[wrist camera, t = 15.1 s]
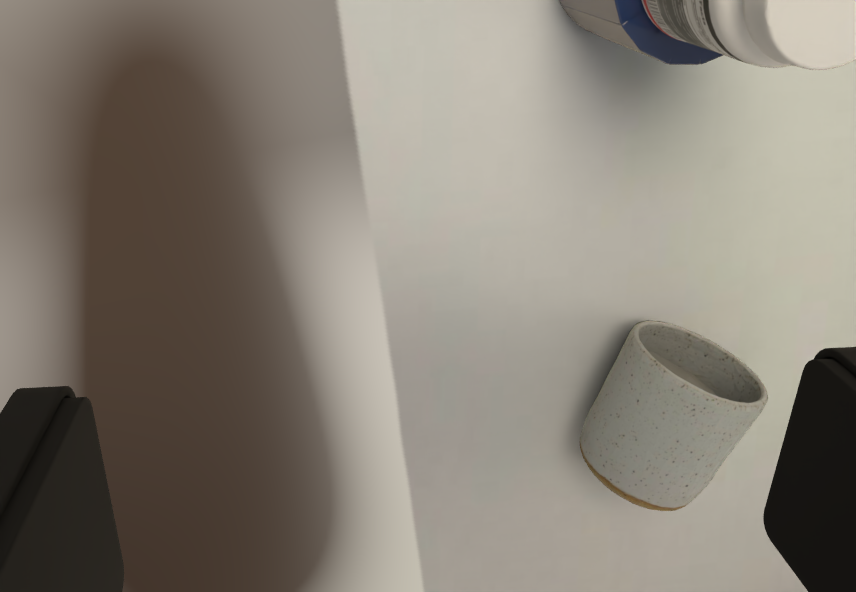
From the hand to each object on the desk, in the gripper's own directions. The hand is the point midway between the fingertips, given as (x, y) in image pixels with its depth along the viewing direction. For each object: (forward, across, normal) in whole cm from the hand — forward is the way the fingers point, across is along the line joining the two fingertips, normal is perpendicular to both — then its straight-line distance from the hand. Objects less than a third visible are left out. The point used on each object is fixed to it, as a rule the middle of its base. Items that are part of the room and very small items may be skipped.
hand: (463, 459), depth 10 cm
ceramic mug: (+28, -18, +18) cm, 38 cm away
